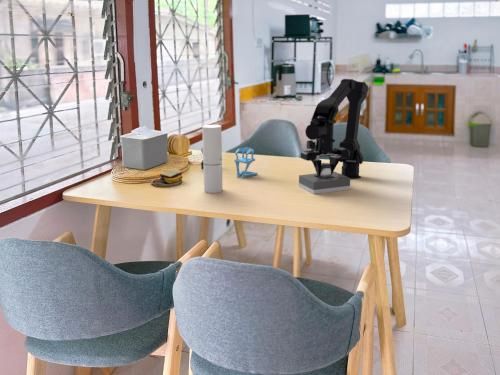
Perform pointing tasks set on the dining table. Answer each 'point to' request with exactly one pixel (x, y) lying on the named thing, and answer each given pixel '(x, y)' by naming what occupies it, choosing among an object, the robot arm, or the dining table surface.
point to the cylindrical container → (212, 158)
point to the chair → (244, 160)
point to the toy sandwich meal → (169, 178)
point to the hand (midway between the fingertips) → (324, 175)
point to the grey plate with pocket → (324, 183)
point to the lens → (325, 171)
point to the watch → (202, 160)
